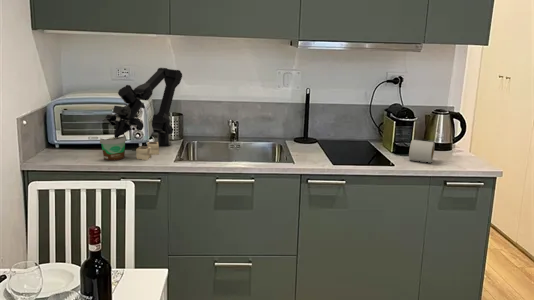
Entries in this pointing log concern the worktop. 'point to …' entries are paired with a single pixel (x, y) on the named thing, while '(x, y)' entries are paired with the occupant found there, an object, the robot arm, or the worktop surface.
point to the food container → (113, 148)
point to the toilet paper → (421, 151)
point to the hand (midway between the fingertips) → (115, 137)
